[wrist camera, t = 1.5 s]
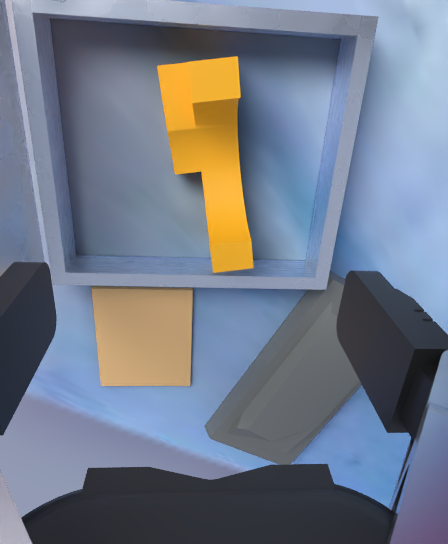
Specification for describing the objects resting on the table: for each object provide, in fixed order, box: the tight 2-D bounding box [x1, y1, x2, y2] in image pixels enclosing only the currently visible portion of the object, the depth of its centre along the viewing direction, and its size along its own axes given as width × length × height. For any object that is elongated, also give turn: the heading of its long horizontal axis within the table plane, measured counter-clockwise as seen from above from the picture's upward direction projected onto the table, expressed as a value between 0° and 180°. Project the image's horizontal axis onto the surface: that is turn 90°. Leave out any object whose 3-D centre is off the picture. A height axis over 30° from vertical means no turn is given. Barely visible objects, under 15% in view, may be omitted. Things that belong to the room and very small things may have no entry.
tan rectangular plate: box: [92, 286, 193, 386], centre depth 35 cm, size 8×10×1 cm
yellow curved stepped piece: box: [157, 56, 254, 273], centre depth 26 cm, size 12×4×6 cm, turn 6°
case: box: [11, 0, 378, 290], centre depth 27 cm, size 20×19×3 cm
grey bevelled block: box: [205, 272, 362, 465], centre depth 37 cm, size 10×20×4 cm, turn 149°
